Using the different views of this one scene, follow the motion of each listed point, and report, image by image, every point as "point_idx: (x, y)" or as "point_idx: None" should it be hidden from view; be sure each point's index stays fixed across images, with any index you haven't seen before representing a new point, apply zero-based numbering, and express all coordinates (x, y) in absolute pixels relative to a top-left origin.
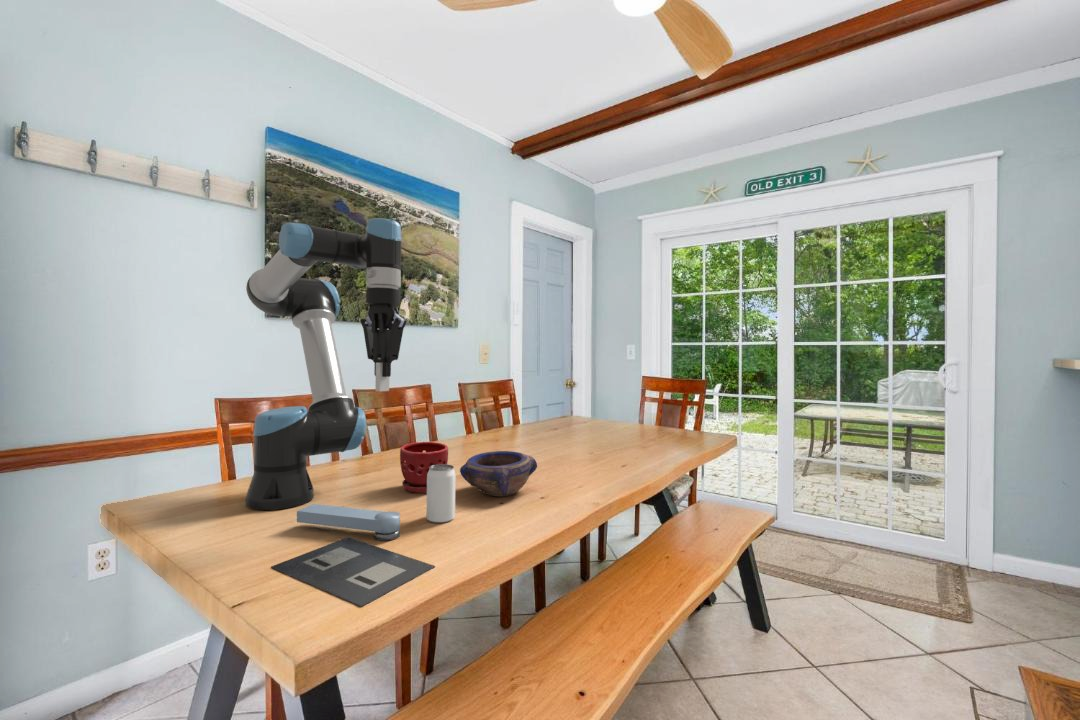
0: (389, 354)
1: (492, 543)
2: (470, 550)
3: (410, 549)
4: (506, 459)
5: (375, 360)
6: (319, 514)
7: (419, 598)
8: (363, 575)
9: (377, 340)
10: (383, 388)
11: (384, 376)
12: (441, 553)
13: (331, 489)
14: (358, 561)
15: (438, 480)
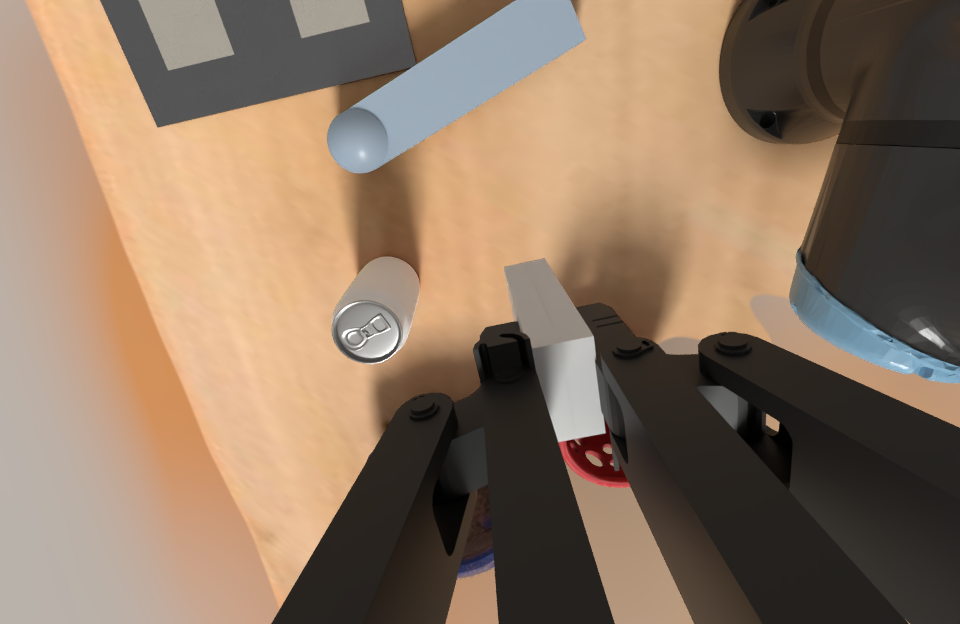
0: (395, 434)
1: (203, 279)
2: (195, 227)
3: (270, 139)
4: (478, 547)
5: (614, 349)
6: (494, 14)
7: (43, 23)
8: None
9: (706, 544)
10: (510, 299)
11: (495, 326)
12: (214, 176)
13: (775, 204)
14: (267, 13)
15: (343, 296)
